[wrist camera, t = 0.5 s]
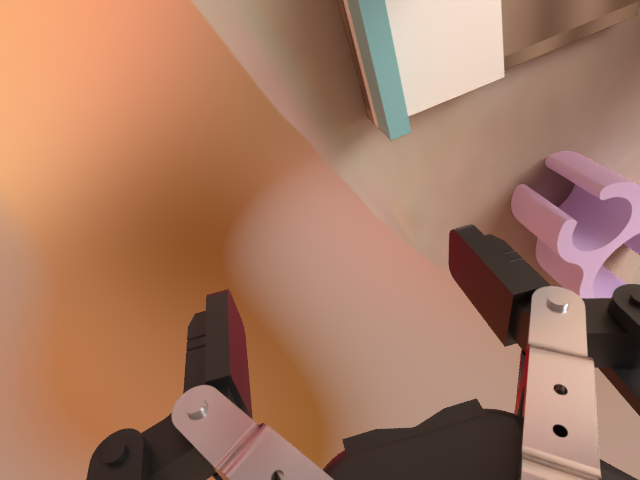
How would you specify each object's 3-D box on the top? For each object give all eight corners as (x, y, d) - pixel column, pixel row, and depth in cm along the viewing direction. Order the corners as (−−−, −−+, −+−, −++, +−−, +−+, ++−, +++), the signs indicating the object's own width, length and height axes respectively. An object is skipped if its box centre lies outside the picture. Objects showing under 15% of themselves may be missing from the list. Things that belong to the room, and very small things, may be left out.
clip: (481, 217, 41) (524, 258, 35) (584, 118, 37) (651, 145, 31) (569, 291, 51) (613, 331, 45) (658, 219, 47) (718, 253, 41)
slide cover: (487, -87, 25) (523, -93, 22) (496, 73, 31) (525, 85, 28) (337, -24, 25) (353, -22, 22) (374, 124, 31) (391, 140, 28)
